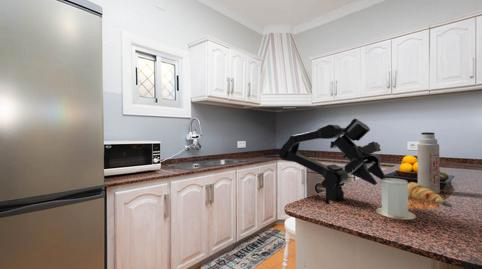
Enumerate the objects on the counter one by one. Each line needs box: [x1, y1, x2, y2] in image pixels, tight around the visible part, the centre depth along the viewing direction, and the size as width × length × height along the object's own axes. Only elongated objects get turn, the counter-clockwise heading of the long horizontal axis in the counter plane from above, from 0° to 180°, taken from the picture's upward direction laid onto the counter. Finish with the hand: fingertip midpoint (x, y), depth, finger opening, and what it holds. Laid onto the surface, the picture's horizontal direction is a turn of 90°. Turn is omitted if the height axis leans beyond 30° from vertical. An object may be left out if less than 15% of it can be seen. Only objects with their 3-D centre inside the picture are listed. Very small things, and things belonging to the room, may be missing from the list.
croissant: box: [407, 181, 445, 205], centre depth 95 cm, size 21×10×8 cm, turn 17°
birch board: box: [375, 207, 417, 220], centre depth 74 cm, size 11×11×1 cm
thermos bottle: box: [416, 131, 441, 194], centre depth 106 cm, size 8×8×28 cm
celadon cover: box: [380, 177, 409, 217], centre depth 74 cm, size 7×7×11 cm
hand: (381, 182), depth 77 cm, fingers open, 9 cm apart
